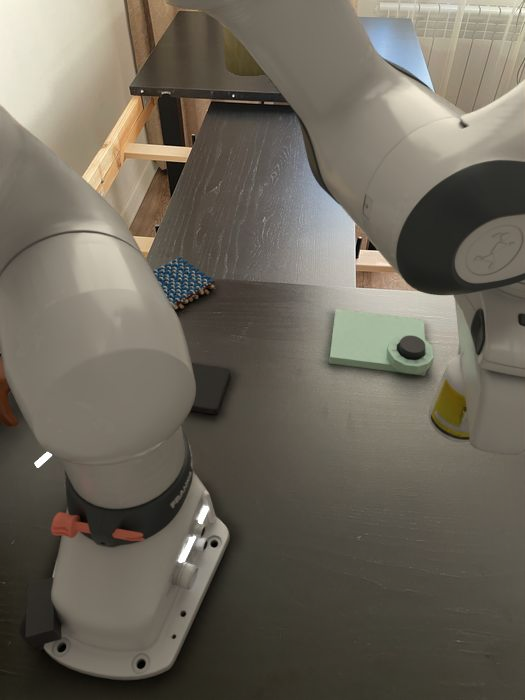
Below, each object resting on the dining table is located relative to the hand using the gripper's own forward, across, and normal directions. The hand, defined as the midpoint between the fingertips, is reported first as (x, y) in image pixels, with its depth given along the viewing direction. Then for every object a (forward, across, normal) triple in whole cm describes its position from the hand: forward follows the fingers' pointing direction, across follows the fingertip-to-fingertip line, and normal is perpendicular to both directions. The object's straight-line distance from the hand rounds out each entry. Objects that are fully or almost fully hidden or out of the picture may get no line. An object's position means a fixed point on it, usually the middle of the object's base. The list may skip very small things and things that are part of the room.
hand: (465, 398), depth 51 cm
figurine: (+14, +1, -55) cm, 57 cm away
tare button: (+16, -22, -2) cm, 27 cm away
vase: (+18, -138, -48) cm, 147 cm away
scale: (+18, -26, -6) cm, 32 cm away
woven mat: (+19, -33, -41) cm, 56 cm away
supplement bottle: (+4, 0, 0) cm, 4 cm away
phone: (+18, -11, -27) cm, 34 cm away
